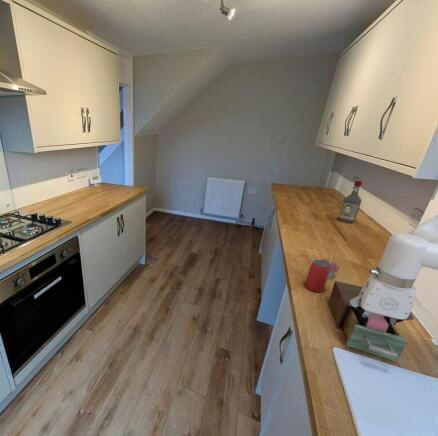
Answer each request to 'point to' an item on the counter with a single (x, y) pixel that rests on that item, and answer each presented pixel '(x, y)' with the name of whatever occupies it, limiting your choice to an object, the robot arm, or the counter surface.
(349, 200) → the liquor
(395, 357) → the drawer
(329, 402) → the counter surface
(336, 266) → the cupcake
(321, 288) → the beer can
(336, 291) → the cabinet
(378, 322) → the block
